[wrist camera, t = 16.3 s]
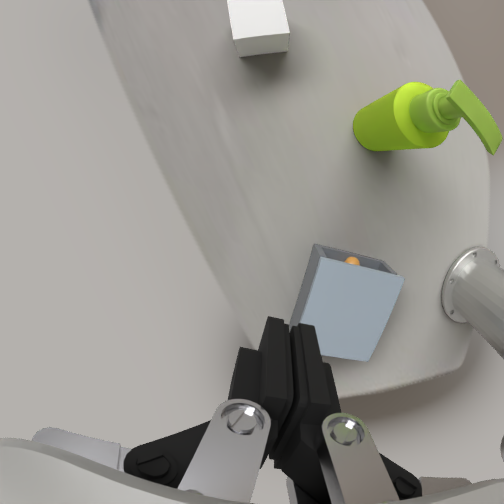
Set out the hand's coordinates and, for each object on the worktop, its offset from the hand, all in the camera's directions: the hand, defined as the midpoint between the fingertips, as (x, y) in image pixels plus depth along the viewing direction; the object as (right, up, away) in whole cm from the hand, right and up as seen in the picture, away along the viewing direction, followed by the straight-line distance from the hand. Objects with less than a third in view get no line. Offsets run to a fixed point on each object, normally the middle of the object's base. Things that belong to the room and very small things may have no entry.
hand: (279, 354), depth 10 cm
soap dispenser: (+15, +19, +22) cm, 32 cm away
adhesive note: (0, +31, +19) cm, 36 cm away
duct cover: (+10, -4, +23) cm, 26 cm away
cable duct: (+10, -2, +28) cm, 30 cm away
